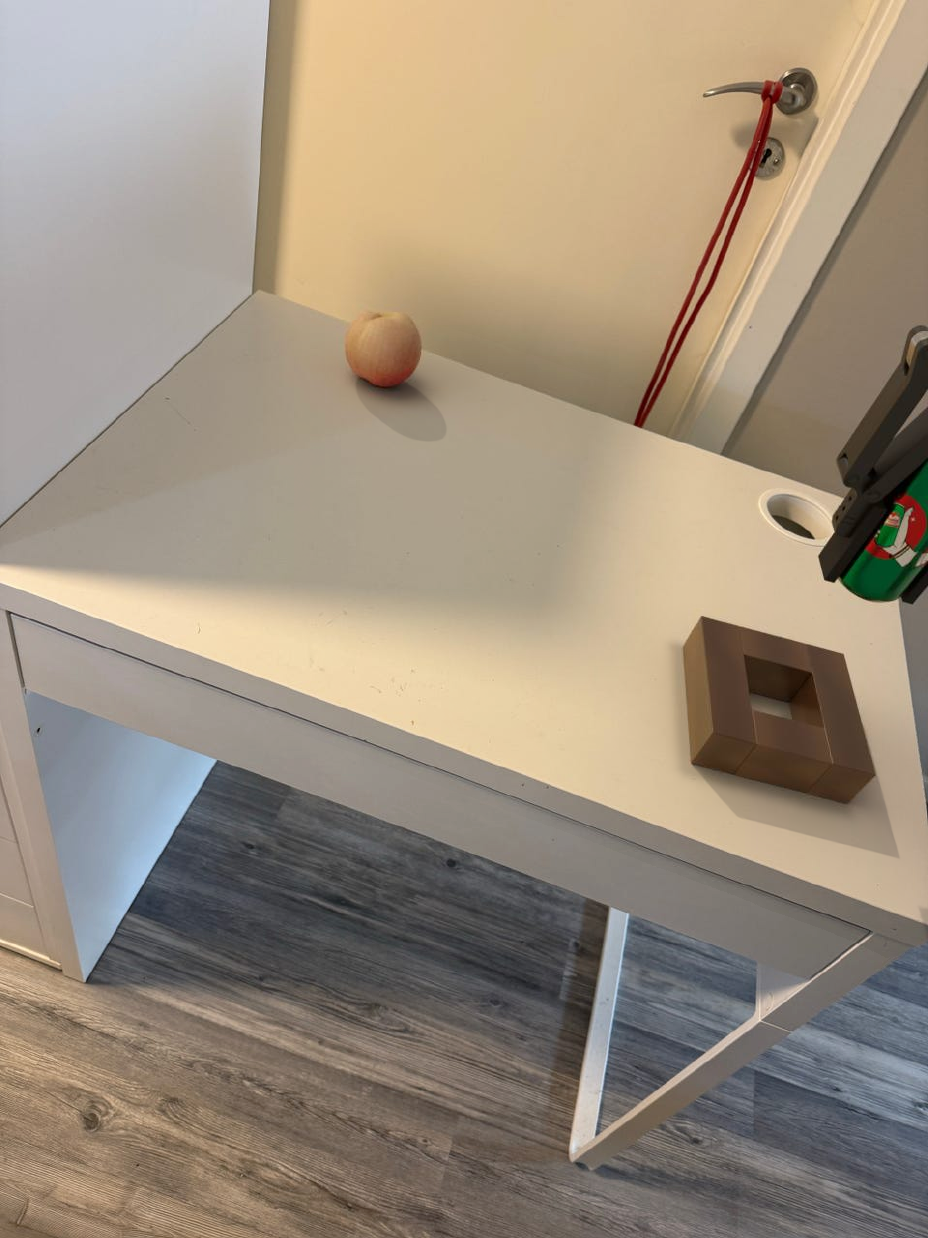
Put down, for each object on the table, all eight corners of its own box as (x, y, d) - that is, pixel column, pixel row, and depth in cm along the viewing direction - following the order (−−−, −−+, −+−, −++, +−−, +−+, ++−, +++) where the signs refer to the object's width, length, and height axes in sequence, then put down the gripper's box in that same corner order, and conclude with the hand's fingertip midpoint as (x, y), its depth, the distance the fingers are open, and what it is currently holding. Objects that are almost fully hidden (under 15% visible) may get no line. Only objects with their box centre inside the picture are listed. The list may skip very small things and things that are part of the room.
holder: (820, 683, 76) (843, 653, 73) (848, 804, 66) (876, 775, 64) (682, 646, 75) (701, 615, 72) (690, 763, 66) (712, 732, 63)
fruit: (386, 356, 99) (397, 291, 94) (426, 392, 96) (440, 326, 90) (328, 366, 95) (336, 298, 89) (368, 404, 91) (379, 336, 86)
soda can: (884, 566, 62) (991, 427, 54) (907, 613, 58) (1025, 473, 50) (821, 552, 61) (919, 410, 53) (839, 599, 58) (948, 455, 50)
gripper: (1233, 276, 47) (968, 578, 63) (929, 184, 46) (738, 515, 62) (1313, 336, 42) (1000, 649, 58) (969, 232, 41) (748, 581, 57)
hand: (864, 579), depth 60 cm, fingers closed on soda can, 5 cm apart
